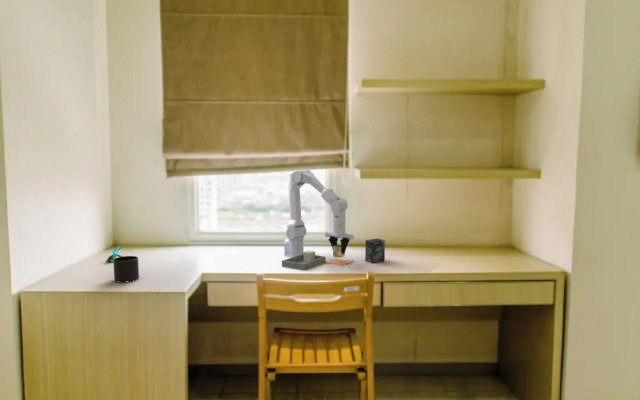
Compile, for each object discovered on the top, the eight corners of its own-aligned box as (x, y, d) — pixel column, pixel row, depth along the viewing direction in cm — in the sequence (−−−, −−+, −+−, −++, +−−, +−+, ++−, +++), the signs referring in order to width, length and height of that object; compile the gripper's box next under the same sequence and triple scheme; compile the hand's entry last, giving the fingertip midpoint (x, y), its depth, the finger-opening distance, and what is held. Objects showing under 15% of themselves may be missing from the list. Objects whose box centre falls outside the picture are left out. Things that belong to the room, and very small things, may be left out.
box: (372, 263, 216) (372, 241, 215) (364, 261, 221) (365, 239, 220) (385, 261, 221) (385, 239, 219) (377, 259, 225) (377, 238, 224)
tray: (281, 267, 210) (281, 260, 210) (303, 259, 225) (303, 253, 225) (304, 270, 203) (304, 264, 203) (325, 262, 218) (325, 256, 218)
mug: (141, 274, 198) (140, 254, 197) (137, 282, 187) (136, 260, 186) (118, 275, 196) (117, 255, 195) (112, 283, 184) (111, 261, 183)
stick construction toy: (113, 253, 229) (119, 242, 227) (126, 260, 230) (132, 249, 228) (101, 265, 218) (107, 254, 216) (114, 273, 219) (120, 261, 217)
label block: (333, 256, 217) (333, 245, 216) (337, 254, 220) (337, 244, 219) (340, 257, 214) (340, 246, 214) (344, 255, 218) (344, 245, 217)
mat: (324, 263, 216) (324, 262, 216) (335, 259, 225) (335, 258, 225) (342, 266, 211) (342, 265, 211) (353, 262, 219) (353, 260, 219)
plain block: (303, 262, 217) (303, 252, 217) (308, 260, 221) (308, 250, 220) (310, 263, 215) (310, 253, 215) (315, 261, 219) (315, 251, 218)
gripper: (321, 224, 216) (321, 252, 218) (348, 227, 209) (348, 256, 210) (329, 222, 222) (329, 250, 224) (355, 225, 214) (355, 253, 216)
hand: (339, 253), depth 217 cm, fingers closed on label block, 4 cm apart
